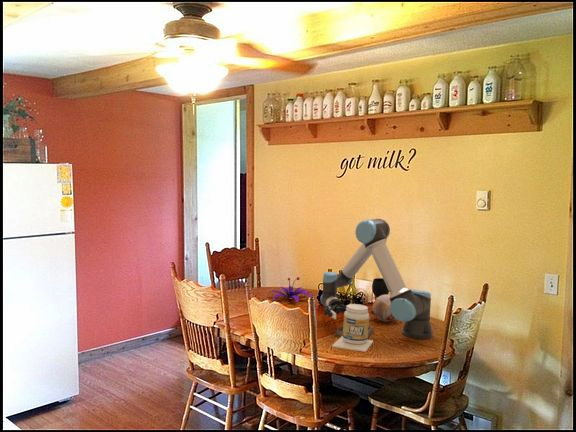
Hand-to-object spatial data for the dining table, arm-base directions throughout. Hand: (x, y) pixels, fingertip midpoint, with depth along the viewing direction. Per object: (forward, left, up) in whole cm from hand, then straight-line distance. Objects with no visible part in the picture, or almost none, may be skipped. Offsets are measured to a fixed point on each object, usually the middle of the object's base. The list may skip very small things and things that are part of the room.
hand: (348, 315), depth 255 cm
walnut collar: (0, -12, -12) cm, 17 cm away
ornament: (-10, -43, -12) cm, 45 cm away
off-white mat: (-4, +5, -12) cm, 14 cm away
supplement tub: (-4, +3, -11) cm, 12 cm away
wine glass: (-3, -60, -12) cm, 61 cm away
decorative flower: (+57, -66, -12) cm, 88 cm away
